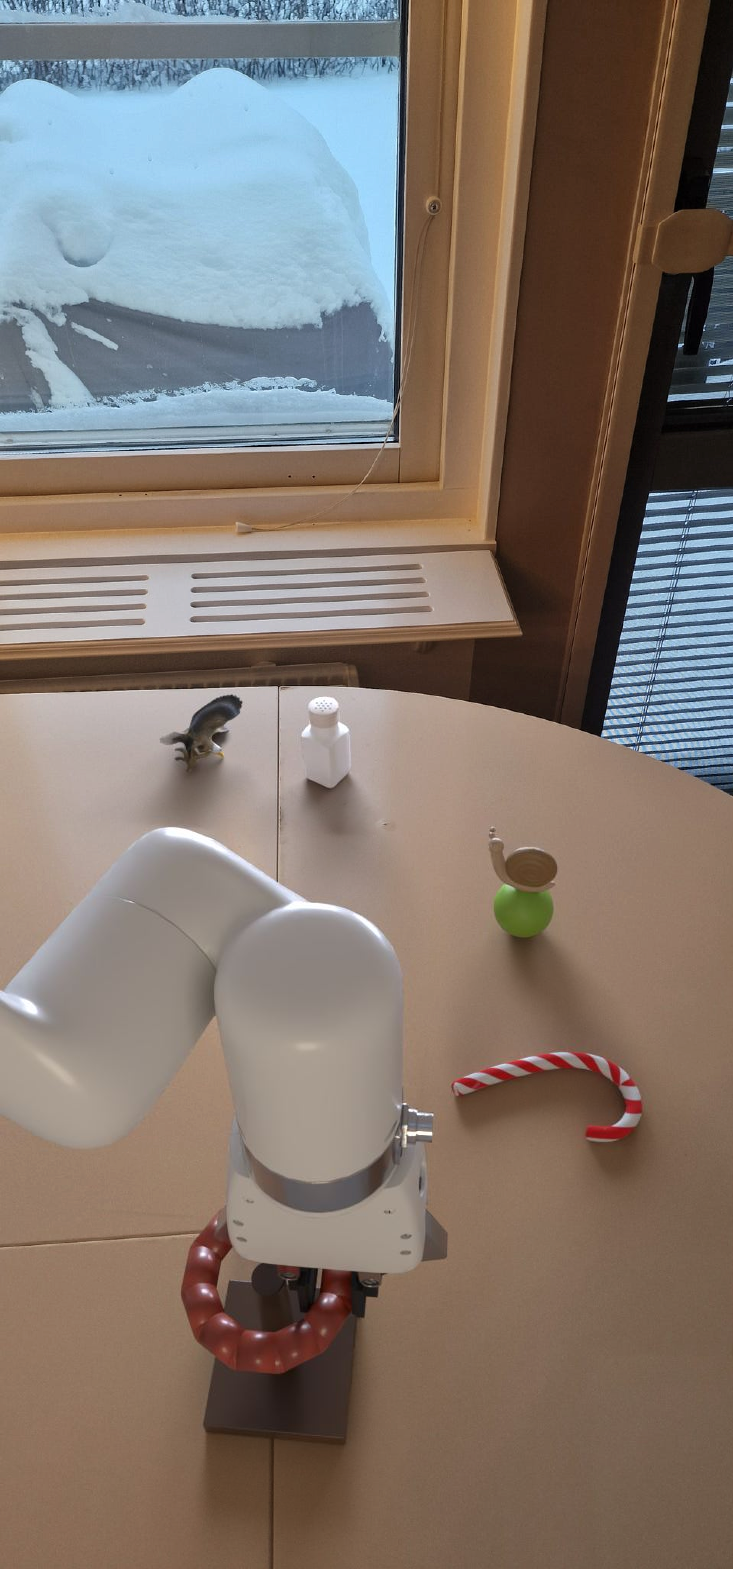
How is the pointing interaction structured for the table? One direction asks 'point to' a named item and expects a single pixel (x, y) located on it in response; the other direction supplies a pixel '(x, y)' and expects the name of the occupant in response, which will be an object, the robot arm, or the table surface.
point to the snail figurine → (523, 888)
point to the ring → (248, 1345)
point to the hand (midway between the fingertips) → (335, 1287)
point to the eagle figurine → (205, 729)
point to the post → (288, 1401)
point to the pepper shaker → (325, 744)
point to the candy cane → (565, 1061)
